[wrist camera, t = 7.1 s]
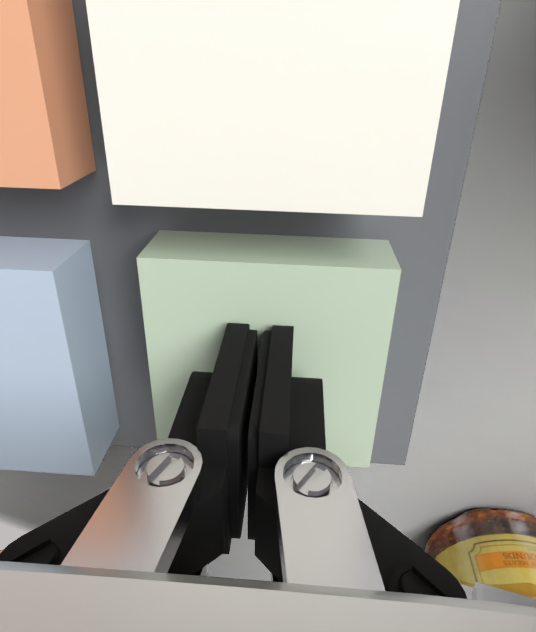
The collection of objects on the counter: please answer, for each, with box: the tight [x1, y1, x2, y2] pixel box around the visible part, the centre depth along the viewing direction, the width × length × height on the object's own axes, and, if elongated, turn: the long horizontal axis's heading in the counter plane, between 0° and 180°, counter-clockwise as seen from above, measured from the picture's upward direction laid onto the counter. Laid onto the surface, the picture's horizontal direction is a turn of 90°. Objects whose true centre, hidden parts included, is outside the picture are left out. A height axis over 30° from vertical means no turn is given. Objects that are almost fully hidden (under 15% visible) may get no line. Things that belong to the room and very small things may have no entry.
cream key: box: [86, 0, 460, 217], centre depth 9 cm, size 6×6×2 cm
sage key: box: [136, 230, 401, 468], centre depth 13 cm, size 6×6×2 cm
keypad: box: [0, 0, 501, 465], centre depth 14 cm, size 20×18×3 cm
